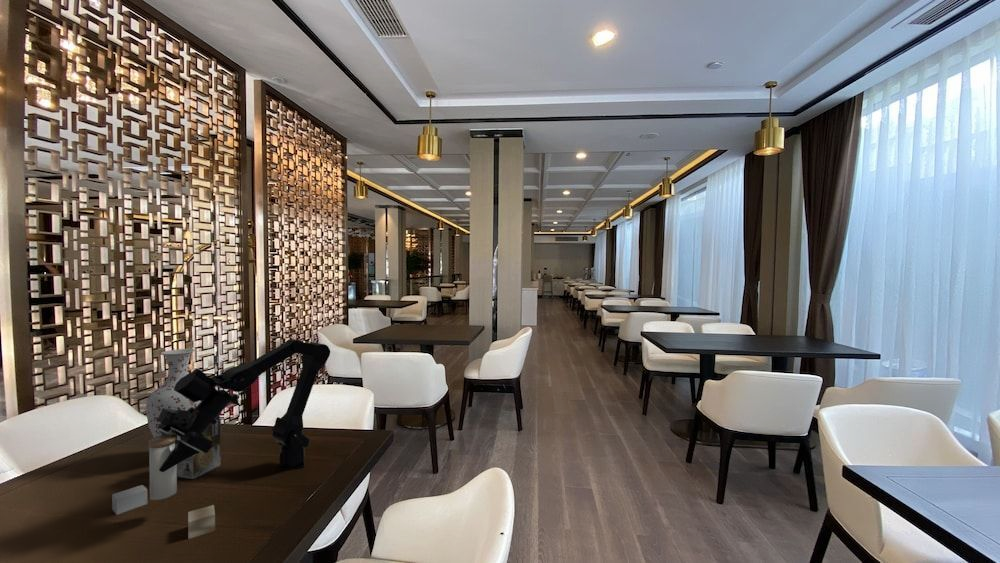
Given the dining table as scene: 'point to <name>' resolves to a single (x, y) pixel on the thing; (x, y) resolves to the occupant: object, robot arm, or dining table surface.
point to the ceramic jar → (158, 453)
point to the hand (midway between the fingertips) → (156, 468)
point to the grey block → (129, 499)
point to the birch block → (201, 521)
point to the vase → (169, 390)
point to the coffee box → (203, 456)
